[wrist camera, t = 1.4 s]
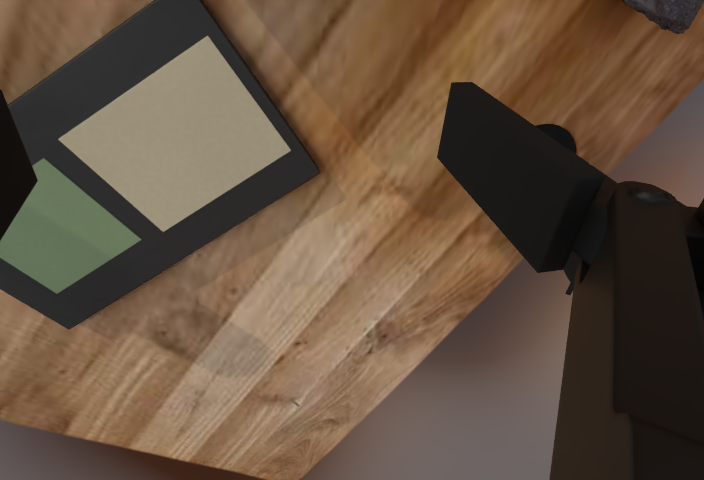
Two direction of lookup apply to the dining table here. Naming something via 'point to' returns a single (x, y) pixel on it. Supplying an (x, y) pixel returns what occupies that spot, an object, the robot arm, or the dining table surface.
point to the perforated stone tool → (668, 12)
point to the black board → (141, 160)
